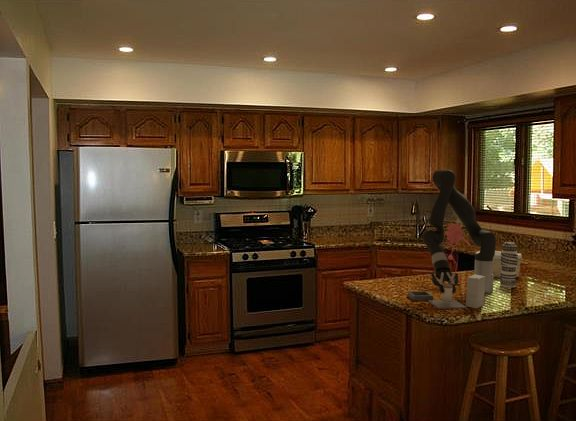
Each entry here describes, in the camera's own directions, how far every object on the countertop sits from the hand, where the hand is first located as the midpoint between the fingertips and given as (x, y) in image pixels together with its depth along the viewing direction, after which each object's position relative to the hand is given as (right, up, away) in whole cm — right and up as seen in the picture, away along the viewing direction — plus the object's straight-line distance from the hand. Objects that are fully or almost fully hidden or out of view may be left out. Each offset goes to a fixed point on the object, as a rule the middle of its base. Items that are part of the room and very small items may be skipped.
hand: (448, 292), depth 261 cm
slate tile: (0, -6, +2) cm, 7 cm away
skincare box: (+13, -7, 0) cm, 15 cm away
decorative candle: (+48, -4, +47) cm, 68 cm away
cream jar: (0, -4, +2) cm, 5 cm away
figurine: (+19, -3, +56) cm, 59 cm away
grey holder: (-10, -5, +14) cm, 19 cm away
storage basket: (+54, -2, +77) cm, 94 cm away
